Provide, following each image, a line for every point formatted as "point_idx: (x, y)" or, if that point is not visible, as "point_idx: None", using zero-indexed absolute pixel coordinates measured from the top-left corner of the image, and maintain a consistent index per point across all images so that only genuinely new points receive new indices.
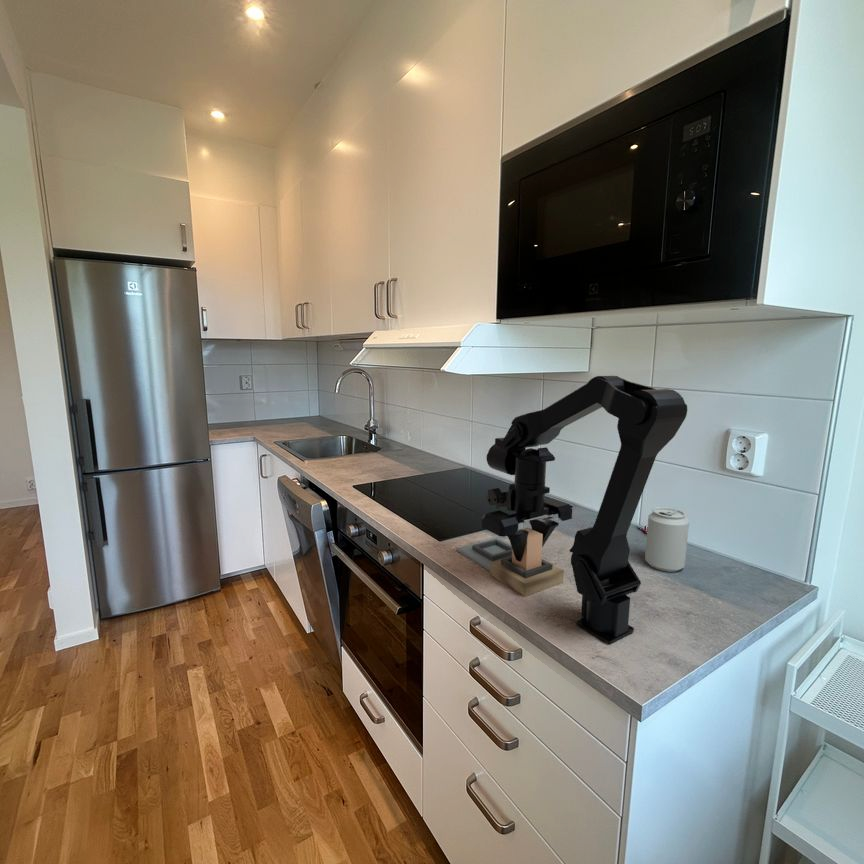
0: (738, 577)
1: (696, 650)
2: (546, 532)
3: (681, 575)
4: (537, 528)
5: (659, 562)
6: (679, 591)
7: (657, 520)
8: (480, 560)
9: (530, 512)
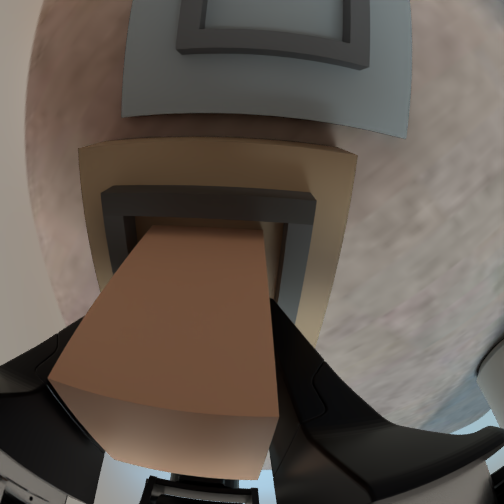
0: (484, 399)
1: (270, 465)
2: (275, 494)
3: (472, 383)
4: (291, 474)
5: (483, 380)
6: (418, 413)
7: None
8: (141, 26)
9: None
